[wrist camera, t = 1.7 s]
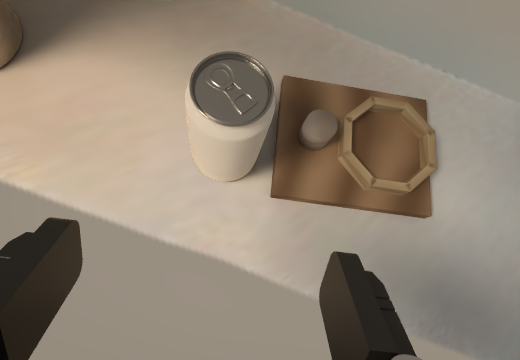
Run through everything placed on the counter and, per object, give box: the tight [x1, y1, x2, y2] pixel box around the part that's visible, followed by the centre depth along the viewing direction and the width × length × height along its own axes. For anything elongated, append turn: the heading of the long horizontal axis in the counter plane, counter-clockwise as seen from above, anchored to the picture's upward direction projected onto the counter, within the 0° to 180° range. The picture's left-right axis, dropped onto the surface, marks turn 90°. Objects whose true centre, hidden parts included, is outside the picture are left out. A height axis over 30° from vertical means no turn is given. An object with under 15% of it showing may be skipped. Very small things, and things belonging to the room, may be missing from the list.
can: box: [185, 52, 275, 182], centre depth 29 cm, size 6×6×12 cm
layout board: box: [271, 76, 437, 218], centre depth 34 cm, size 16×13×4 cm
